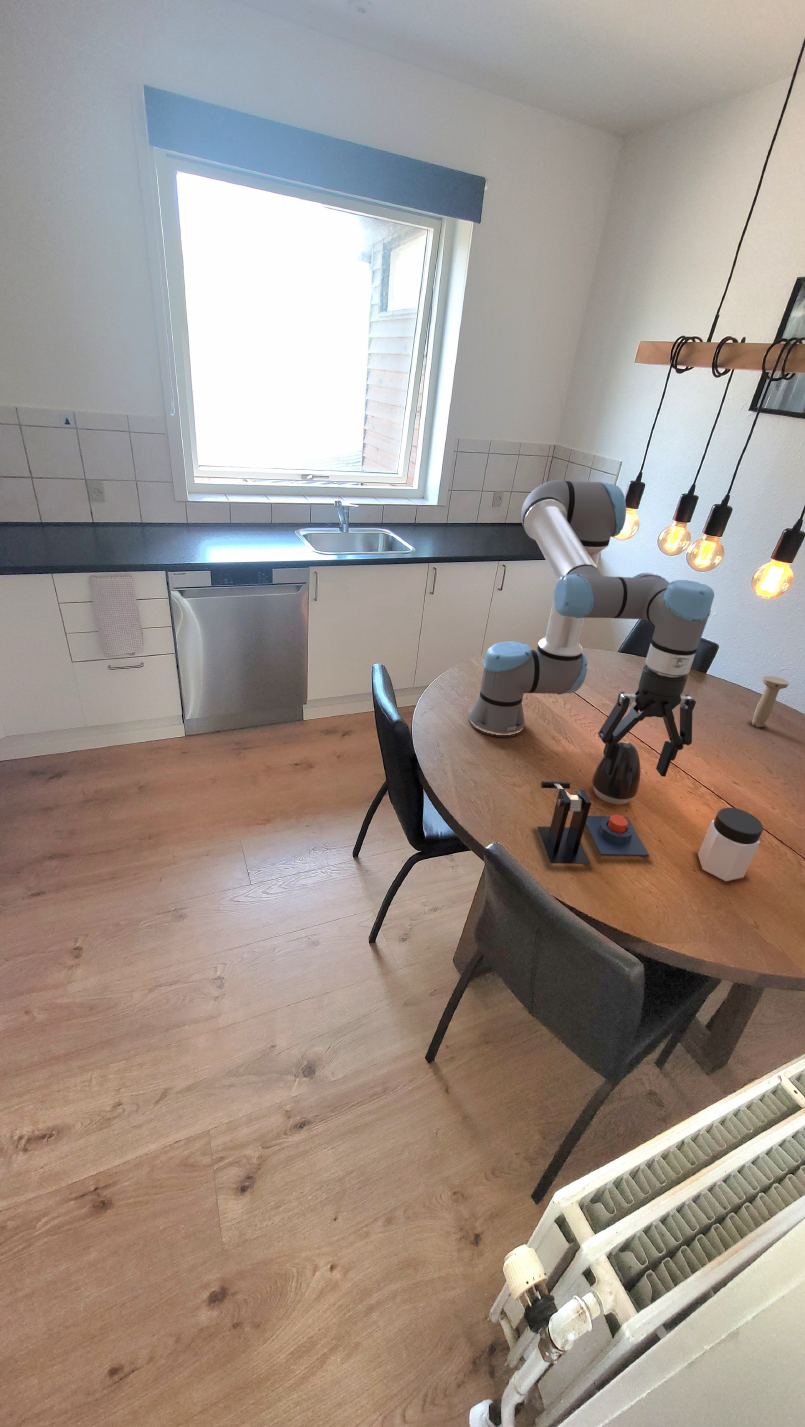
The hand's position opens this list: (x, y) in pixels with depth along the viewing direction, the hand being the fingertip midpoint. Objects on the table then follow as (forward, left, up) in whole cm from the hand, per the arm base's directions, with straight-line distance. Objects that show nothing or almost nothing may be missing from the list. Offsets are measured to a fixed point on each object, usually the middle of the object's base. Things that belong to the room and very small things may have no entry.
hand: (634, 771), depth 116 cm
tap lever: (-2, -12, -9) cm, 15 cm away
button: (0, 0, -14) cm, 14 cm away
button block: (0, 0, -18) cm, 18 cm away
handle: (-53, +64, -18) cm, 85 cm away
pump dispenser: (-15, +5, -18) cm, 24 cm away
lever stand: (+3, -12, -18) cm, 22 cm away
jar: (+7, +20, -18) cm, 28 cm away
